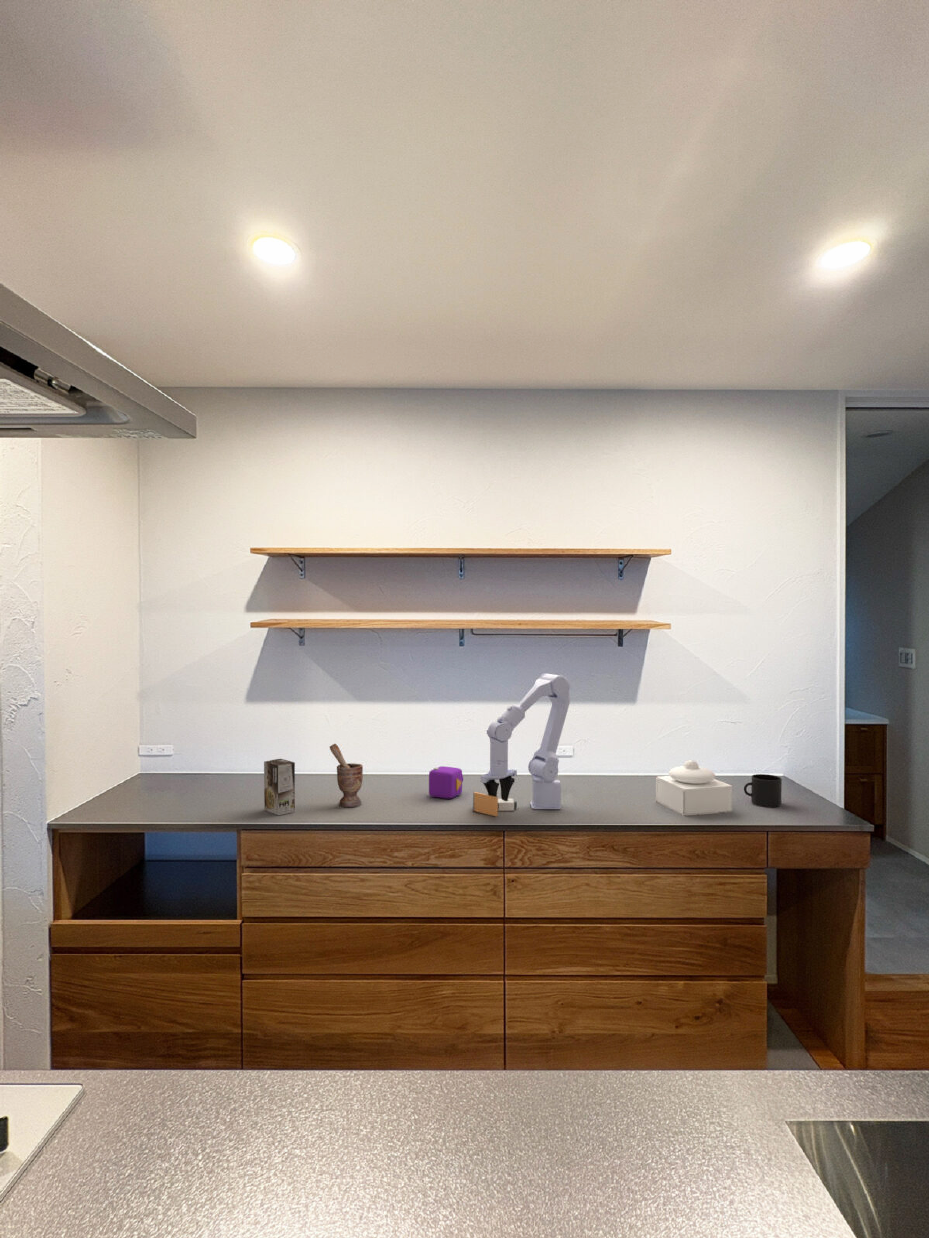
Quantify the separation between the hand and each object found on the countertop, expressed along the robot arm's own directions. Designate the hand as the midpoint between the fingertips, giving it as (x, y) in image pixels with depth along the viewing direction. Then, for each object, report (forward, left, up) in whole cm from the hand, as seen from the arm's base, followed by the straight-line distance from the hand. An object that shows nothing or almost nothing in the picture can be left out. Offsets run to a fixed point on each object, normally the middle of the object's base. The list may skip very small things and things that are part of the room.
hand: (498, 801), depth 236 cm
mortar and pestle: (+51, -9, -4) cm, 52 cm away
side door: (+4, +1, -3) cm, 6 cm away
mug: (-90, -11, -4) cm, 91 cm away
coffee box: (+71, -1, -4) cm, 71 cm away
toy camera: (+17, -22, -4) cm, 28 cm away
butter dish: (-65, -7, -4) cm, 66 cm away
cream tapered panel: (+1, -5, -4) cm, 6 cm away
